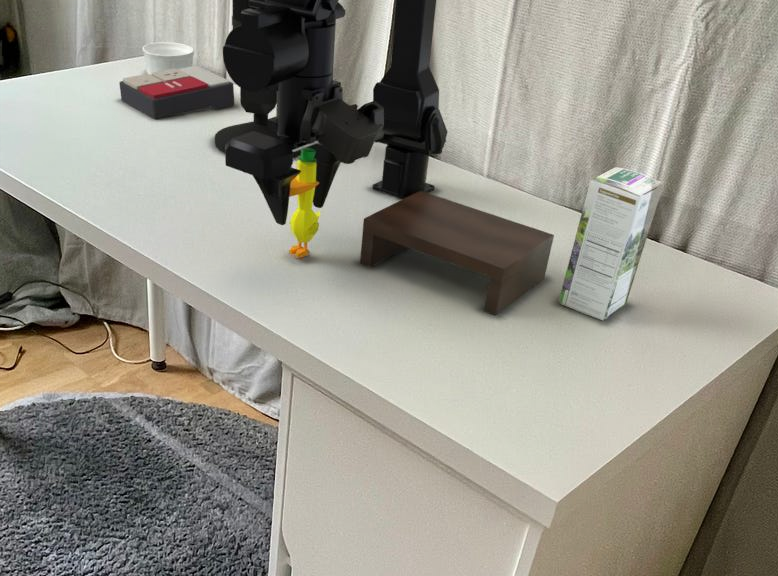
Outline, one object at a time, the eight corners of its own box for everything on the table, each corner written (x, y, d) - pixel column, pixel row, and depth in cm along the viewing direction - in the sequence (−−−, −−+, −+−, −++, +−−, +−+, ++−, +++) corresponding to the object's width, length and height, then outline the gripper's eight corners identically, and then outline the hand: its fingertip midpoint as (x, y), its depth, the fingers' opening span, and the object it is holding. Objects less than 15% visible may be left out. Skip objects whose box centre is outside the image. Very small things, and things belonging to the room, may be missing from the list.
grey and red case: (117, 76, 142) (197, 61, 150) (120, 104, 145) (199, 87, 153) (152, 95, 136) (234, 78, 144) (155, 123, 139) (235, 105, 146)
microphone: (289, 167, 126) (295, -30, 111) (200, 151, 129) (194, -44, 113) (317, 138, 137) (326, -45, 122) (234, 124, 139) (233, -57, 124)
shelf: (415, 232, 111) (420, 190, 108) (544, 279, 104) (554, 234, 100) (359, 263, 103) (363, 218, 100) (495, 315, 96) (504, 268, 92)
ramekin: (204, 77, 158) (203, 51, 156) (160, 83, 153) (158, 57, 151) (177, 65, 163) (176, 39, 161) (134, 70, 159) (132, 44, 156)
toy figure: (286, 267, 100) (289, 161, 93) (265, 255, 102) (267, 151, 95) (329, 251, 104) (335, 149, 97) (309, 240, 106) (313, 139, 99)
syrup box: (581, 287, 103) (613, 163, 94) (628, 306, 100) (665, 179, 91) (557, 304, 99) (588, 176, 90) (605, 323, 96) (641, 193, 87)
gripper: (311, 107, 81) (304, 264, 90) (420, 71, 93) (404, 212, 103) (220, 79, 86) (222, 231, 95) (335, 49, 98) (327, 186, 108)
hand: (299, 215), depth 100 cm, fingers closed on toy figure, 6 cm apart
